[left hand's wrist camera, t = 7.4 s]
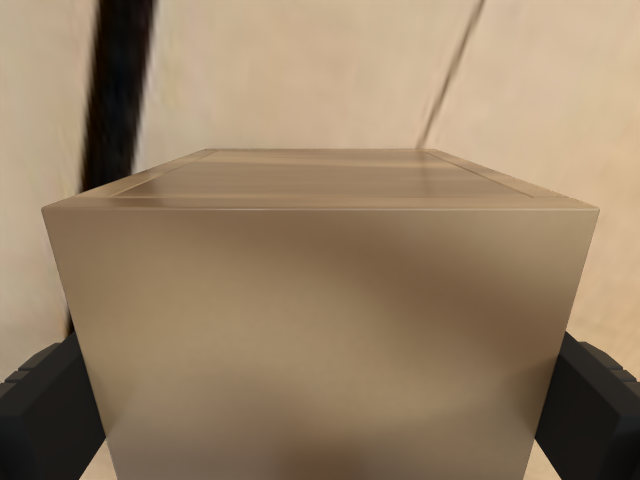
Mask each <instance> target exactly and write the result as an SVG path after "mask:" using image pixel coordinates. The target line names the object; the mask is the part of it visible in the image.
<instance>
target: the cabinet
mask: <svg viewBox="0 0 640 480" xmlns="http://www.w3.org/2000/svg"><path fill="white" fill-rule="evenodd" d="M41 211H42V214H43V218H44V221H45V225H46V229H47V232H48V236H49V239H50V243H51V246H52V250H53V253H54V257H55V260H56V264H57V267H58V271H59V274H60V278H61V281H62V285H63V289H64V292H65V296H66V299H67V303H68V306H69V310H70V313H71V317H72V320H73V324H74V327H75V331H76V334H77V338H78V341H79V345H80V348H81V352H82V356H83V359H84V363H85V366H86V370H87V373H88V377H89V380H90V384H91V387H92V391H93V394H94V398H95V401H96V405H97V408H98V412H99V416H100V419H101V423H102V426H103V430H104V433H105V437H106V440H107V444H108V447H109V451H110V454H111V458H112V461H113V465H114V468H115V472H116V475H117V479H118V480H523V477H524V474H525V470H526V467H527V463H528V460H529V456H530V453H531V449H532V446H533V442H534V439H535V435H536V432H537V428H538V425H539V421H540V418H541V414H542V411H543V407H544V404H545V400H546V397H547V393H548V390H549V386H550V383H551V379H552V376H553V372H554V369H555V365H556V362H557V358H558V355H559V351H560V348H561V344H562V341H563V337H564V334H565V330H566V327H567V323H568V320H569V316H570V313H571V309H572V306H573V302H574V299H575V295H576V292H577V288H578V285H579V281H580V278H581V274H582V271H583V267H584V264H585V260H586V257H587V253H588V250H589V246H590V243H591V239H592V236H593V232H594V229H595V225H596V222H597V218H598V215H599V211H600V209H599V208H598V207H595V206H593V205H590V204H587V203H584V202H581V201H579V200H576V199H573V198H569V197H567V196H564V195H561V194H558V193H556V192H553V191H550V190H547V189H544V188H542V187H539V186H536V185H533V184H531V183H528V182H525V181H522V180H519V179H517V178H514V177H511V176H508V175H505V174H503V173H500V172H497V171H494V170H491V169H489V168H486V167H483V166H480V165H478V164H475V163H472V162H469V161H466V160H464V159H461V158H458V157H455V156H452V155H450V154H447V153H444V152H441V151H438V150H436V149H205V150H202V151H198V152H196V153H193V154H190V155H187V156H184V157H182V158H179V159H176V160H173V161H170V162H168V163H165V164H162V165H159V166H156V167H154V168H151V169H148V170H145V171H142V172H140V173H137V174H134V175H131V176H128V177H126V178H123V179H120V180H117V181H114V182H112V183H109V184H106V185H103V186H100V187H98V188H95V189H92V190H89V191H86V192H84V193H81V194H78V195H75V196H72V197H71V198H67V199H64V200H61V201H59V202H56V203H53V204H50V205H47V206H45V207H42V209H41Z"/></svg>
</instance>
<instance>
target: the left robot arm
mask: <svg viewBox="0 0 640 480" xmlns="http://www.w3.org/2000/svg"><path fill="white" fill-rule="evenodd" d="M105 439H106V437H105V433H104V430H103V426H102V423H101V419H100V416H99V412H98V408H97V405H96V401H95V398H94V394H93V391H92V387H91V384H90V380H89V377H88V373H87V370H86V366H85V363H84V359H83V356H82V352H81V348H80V345H79V341H78V338H77V334H76V331H74V332H73V333H72V334H71V335H70V336H68V337H67V338H66V339H65V340H64V341H63V342H62V343H54V344H53V345H51V346H49V347H47V348H45V349H44V350H42V351H40V352H38V353H36V354H35V355H33V356H32V357H31V358H30V359H29V360H28V361H26V362H25V363H24V364H23V365H22V366H21V367H19V368H18V371H15V372H14V373H12V374H11V375H10V376H9V377H8V378H7V379H5V382H4V383H1V384H0V480H79V479H80V477H81V476H82V474H83V473H84V471H85V469H86V468H87V466H88V465H89V463H90V462H91V460H92V459H93V457H94V456H95V454H96V453H97V451H98V450H99V448H100V446H101V445H102V443H103V442H104V440H105ZM535 440H536V441H537V443H538V444H539V446H540V447H541V449H542V450H543V452H544V453H545V455H546V457H547V458H548V460H549V461H550V463H551V464H552V466H553V467H554V469H555V470H556V472H557V473H558V475H559V476H560V478H561V479H562V480H640V382H637V380H636V378H635V377H634V376H632V375H631V374H630V373H629V372H628V371H627V370H623V367H622V366H621V365H620V364H618V363H617V362H616V361H615V360H614V359H612V358H611V357H610V356H609V355H608V354H607V353H605V352H603V351H601V350H599V349H598V348H596V347H594V346H592V345H590V344H589V343H587V342H578V341H576V340H575V339H574V338H573V337H572V336H571V335H570V334H569V333H568V332H566V331H565V334H564V337H563V341H562V344H561V348H560V351H559V355H558V358H557V362H556V365H555V369H554V372H553V376H552V379H551V383H550V386H549V390H548V393H547V397H546V400H545V404H544V407H543V411H542V414H541V418H540V421H539V425H538V428H537V432H536V435H535Z"/></svg>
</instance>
